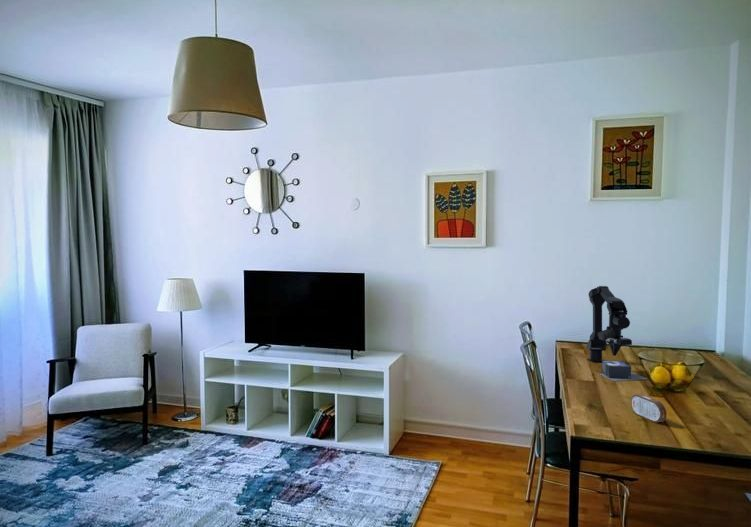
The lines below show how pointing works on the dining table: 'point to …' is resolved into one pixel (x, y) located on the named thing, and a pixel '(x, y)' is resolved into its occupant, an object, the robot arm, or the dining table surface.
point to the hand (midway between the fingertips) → (614, 355)
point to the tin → (648, 408)
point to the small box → (616, 369)
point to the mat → (633, 377)
